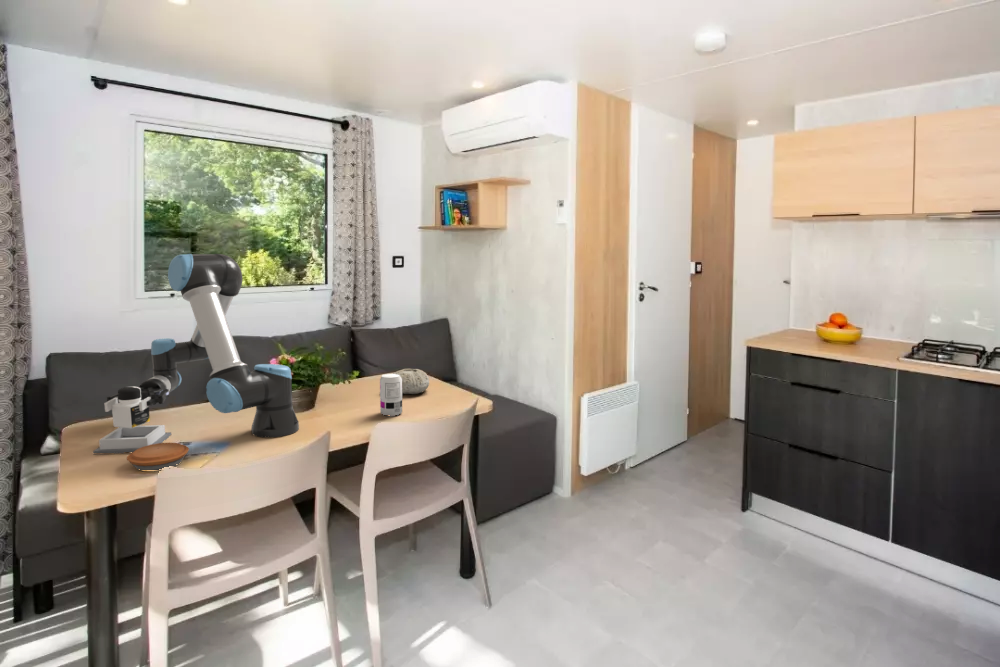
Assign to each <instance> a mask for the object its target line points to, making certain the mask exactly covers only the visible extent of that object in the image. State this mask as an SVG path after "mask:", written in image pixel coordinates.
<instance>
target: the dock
mask: <svg viewBox="0 0 1000 667" xmlns="http://www.w3.org/2000/svg"><path fill="white" fill-rule="evenodd" d="M165 426H166V425H164V424H158V425H157V424H156V425H154V424H153V425H151V424H150V425H140V426H138V427H135V428H122V427H116V429H114V430H113V431H111V432H110V433H108V434H106V435H104V436H103V437H101V438H100V439H99V440H98V443H99V447H97V448H95V449H94V450H93V451H92V454H93V453H114V454H125V453H124V452H134V451H135V450H137V449H139V448H142V447H144V446H148V445H152V444H158V443H164V442H163V441H164V440H165V441H166V440H167V439H168V438H169V436H170V435H171V436H172V432H166V427H165ZM171 436H170V437H171Z"/></svg>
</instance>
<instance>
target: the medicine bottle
mask: <svg viewBox="0 0 1000 667" xmlns="http://www.w3.org/2000/svg"><path fill="white" fill-rule="evenodd" d="M117 393H118V400H119V402H120V403H117V404H114V405H112V410H111V414H112V421H113V423H112V424H113V427H115V428H119V427H122V428H135V427H138V426H144V425H146V424H148V423H150V421H151V418H150V417H151V416H150V406H149V407H148V408H146V409H144V410H143V411H140V408H139V402H141V401H142V400H141V389H140V388H139V386H134V385H133V386H124V387H122V388H119V389H118V390H117Z"/></svg>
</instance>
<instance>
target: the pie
mask: <svg viewBox="0 0 1000 667" xmlns="http://www.w3.org/2000/svg"><path fill="white" fill-rule="evenodd" d="M189 451H190V448H189V446H187V445H185V444H183V443H177V442H162V443H158V444H152V445H148V446H144V447H142V448H139V449H137V450H135V451H134V452H132V453H128V455H127V456H126V460H127V461H128V462H129V463H130V464H132V466H133V467H134V468H135V469H136V468H137V469H136V470H138V469H140V470H159V469H162V468H164V467H169V466H175V467H177V466H176V464H178V465H180V464H181V463H182V461H183V459H184V458H185V456H186V455H187V454H188V453H189ZM180 462H181V463H180ZM179 463H180V464H179Z"/></svg>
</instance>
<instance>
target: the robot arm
mask: <svg viewBox="0 0 1000 667" xmlns="http://www.w3.org/2000/svg"><path fill="white" fill-rule="evenodd" d="M167 269H168V270H167V280H168V283H169V286H170V288H171V289H172V290H173V291H176V292H180V293H181V296H182V299H183V300H185V301H187V302H189V303H190V307H191V309H192V310H191V311H192V312H193V316H194V318H195V321H196V326H195V328H194V331H193V333H192V334H191V338H190V340H189V341H180V342H176V340H175V339H174V338H157V339H154V340H153V341H151V346H150V348H151V349H150V354H151V361H152V362H151V363H152V376H153V377H150V378H149V379H146V380H145V381H143V382H142V383H140V385H139V386H138V387H139V388H140V389H141V400H142V401H141V402H139V408H140V411H143V410H144V409H146V408H148V407H149V408H150V406H153V405H156V404H157V403H158V405H163V404H164V402H165V401H166V399H167V398H168V397H170V393H171V392H173V391H174V390H176V389H177V388H178V387H179V386H180V385H181V383H182V376H181V373H180V372H179V371H178V365H177V364H182V363H188V362H196V361H204V360H207V359H208V360H209V363H210V366H211V369H212V371H211V372H210V374H209V379H210V380H208V382H207V384H206V387H205V389H206V391H205V392H206V397H207V399H208V402H209V403H210V405H211V406H212V407H213V409H215V410H216V411H217V412H219V413H222V414H230V413H237V412H241V411H243V410H247V409H251V408H256V409H255V414H254V417H253V420H252V421H253V422H252V425H251V434H252V436H255V437H258V438H259V437H260V438H278V437H284V436H285V437H286V436H288V435H291V434H294V433H296V432H298V431H299V428H300V424H299V420H298V418H297V415H296V412H295V410H294V407H293V390H292V388H293V387H292V384H293V381H292V379H293V376H292V370H291V368H290V367H289V366H287V365H284V364H283V365H282V364H273V363H260V364H255V365H254V366H253V370H252V371H250V368H249V366H248V364H247V363H244V362H243V361H242V360H241V357H240V354H239V352H238V349H237V346H236V343H235V340H234V337H233V334H232V332H231V331H232V330H231V328H230V326H229V324H228V320H227V317H226V315H227V312H228V310H229V307H230V305H231V304H232V301H233V299H234V297H236V296H238V295H239V293H240V291H241V288H242V287H243V286H242V285H243V273H242V270H241V267H240V265H239V264H238V262H236V260H234V258H232V257H230V256H228V255H226V254H221V253H214V254H211V253H210V254H209V253H207V254H205V253H203V254H200V253H196V254H195V253H193V254H192V253H187V254H178V255H176V256H174V257H173V258H172V259H171V261H170V263H169V266H168V268H167ZM117 403H120V402H119V400H118V392H117V393H115V394H112V395H108V396H106V402H104V403H103V404H104V412H106V413H107V412H110V411H112V405H114V404H117Z"/></svg>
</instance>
